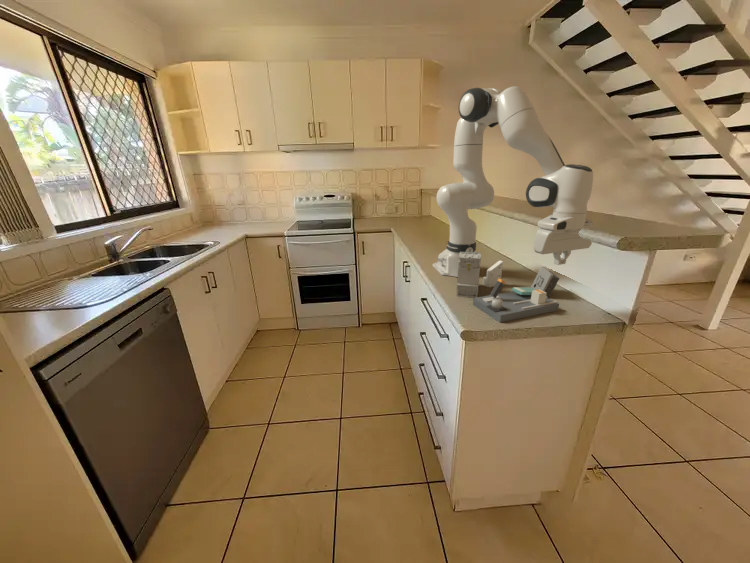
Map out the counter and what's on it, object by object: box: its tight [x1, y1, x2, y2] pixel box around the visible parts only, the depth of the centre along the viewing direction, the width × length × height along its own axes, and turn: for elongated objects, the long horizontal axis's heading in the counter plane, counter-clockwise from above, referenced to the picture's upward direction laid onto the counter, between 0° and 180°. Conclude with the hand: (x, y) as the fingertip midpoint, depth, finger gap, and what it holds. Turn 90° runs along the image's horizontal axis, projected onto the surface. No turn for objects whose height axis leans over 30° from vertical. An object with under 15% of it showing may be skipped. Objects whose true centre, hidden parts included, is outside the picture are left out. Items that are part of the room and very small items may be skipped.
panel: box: [472, 290, 560, 323], centre depth 104 cm, size 14×23×3 cm, turn 108°
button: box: [491, 298, 503, 309], centre depth 99 cm, size 3×3×2 cm
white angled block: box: [481, 260, 504, 288], centre depth 124 cm, size 4×10×9 cm, turn 110°
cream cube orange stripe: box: [530, 289, 547, 305], centre depth 101 cm, size 3×3×4 cm
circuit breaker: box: [455, 251, 482, 298], centre depth 118 cm, size 8×14×15 cm, turn 163°
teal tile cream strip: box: [511, 286, 535, 295], centre depth 108 cm, size 8×5×1 cm, turn 108°
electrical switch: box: [530, 266, 560, 298], centre depth 114 cm, size 9×5×9 cm, turn 173°
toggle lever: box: [489, 278, 506, 298], centre depth 104 cm, size 2×2×6 cm
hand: (559, 264), depth 99 cm, fingers closed
